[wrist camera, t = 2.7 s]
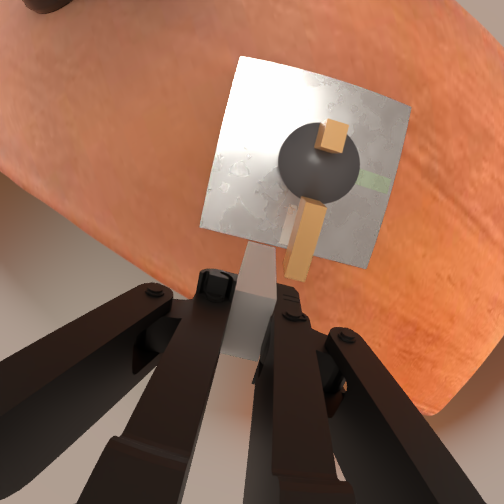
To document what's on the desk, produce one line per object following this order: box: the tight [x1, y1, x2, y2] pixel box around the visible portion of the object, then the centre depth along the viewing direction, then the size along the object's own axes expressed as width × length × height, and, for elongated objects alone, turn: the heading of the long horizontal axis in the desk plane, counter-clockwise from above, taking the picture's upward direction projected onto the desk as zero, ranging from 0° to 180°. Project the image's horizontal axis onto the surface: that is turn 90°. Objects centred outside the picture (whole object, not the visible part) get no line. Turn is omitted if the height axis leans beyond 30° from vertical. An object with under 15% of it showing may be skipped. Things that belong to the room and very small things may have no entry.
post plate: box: [199, 56, 411, 269], centre depth 34 cm, size 22×22×6 cm
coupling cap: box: [278, 118, 360, 282], centre depth 29 cm, size 14×8×8 cm, turn 166°
